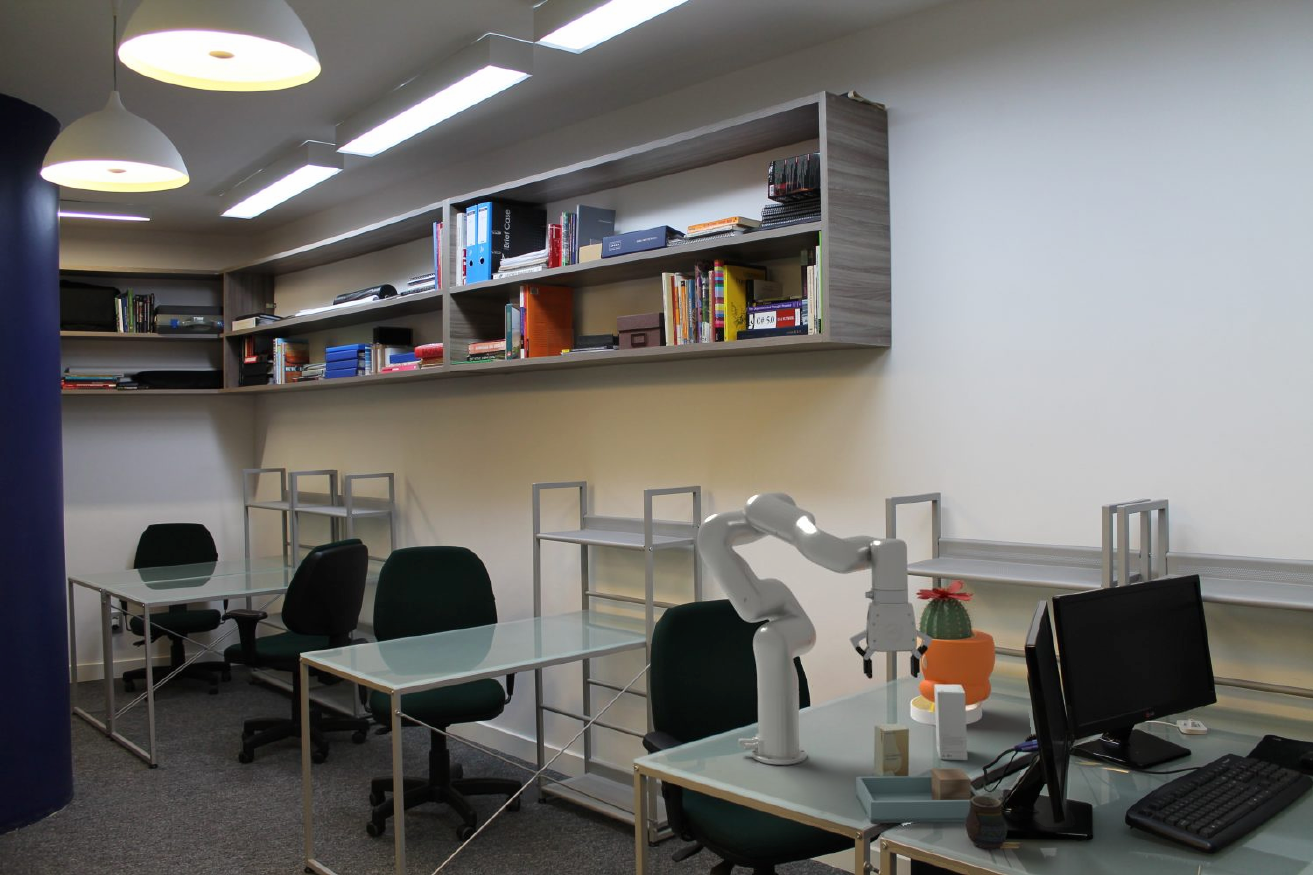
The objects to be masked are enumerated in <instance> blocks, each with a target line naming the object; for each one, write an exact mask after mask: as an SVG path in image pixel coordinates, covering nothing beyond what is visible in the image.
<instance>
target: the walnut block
mask: <svg viewBox="0 0 1313 875" xmlns="http://www.w3.org/2000/svg"><path fill="white" fill-rule="evenodd" d="M931 776H932V800H970V799H971V786H972V785H971V782H972V781H971V778H970V777H969V776H968V775H967V774H966V773H965V771H964V770H963V769H962V768H931Z"/></svg>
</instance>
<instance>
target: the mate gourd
mask: <svg viewBox="0 0 1313 875" xmlns="http://www.w3.org/2000/svg"><path fill="white" fill-rule="evenodd" d="M965 830H966V833H967V837H968V839H969V840H970V842H972V843H973V844H974V845H976V846H977V847H979V848H982V849H997V848H999V847H1001V846H1002V845H1003V844H1004V843H1005V842H1006V838H1007V834H1008V824H1007V821H1006V817H1005V814H1004V812H1003V802H1002V800H1000V799H998V798H997V797H993V796H990V795H983V794H982V795H981V794H980V796H974V797H972V798H971V799H970V810H969V814H968V816H967V819H966V822H965Z"/></svg>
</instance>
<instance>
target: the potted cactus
mask: <svg viewBox="0 0 1313 875" xmlns="http://www.w3.org/2000/svg"><path fill="white" fill-rule="evenodd" d="M963 585H964V582H962V581H961V580H954V581H953V583H951V584H950V585H949V586H946V587H945V588H944V587H943V586H941V588H940V586H938V587H937V588H935V587H934V588H931V589H918V591H919V592H916V593H915V595H916V596H918V597H917V599H919V600H922V601H923V600H927V601H928V602H927V604H926V605H925V607H921V609H922V612H919V614H920V615H921V617H919V616H918V622H917V625H919V627H918V629H917V630H918V631H920V632H922V633H924V634H926V635H928V636H930V637H931V638H932V641H931V643H930V645H929V646H928V650H927V651H926V652H925V653H924V654H923V655H922V657H921V658H920V674H922V676H923V678H924V679H923V680H922V681H921V682H920V683H919V686H918V690H919V692H920V694H921V695H919V696H918V695H917V696H916V697H914V698H912V699H911V700H910V704H909V705H910V718H911V719H912V720H914V721H915V722H918V723H922V724H925V725H931V726H936V718H935V691H934V685H961V686H962V687H963V690H964V692H965V705H966V725H969V724H972V723H973V724H974V723H976V722H977V721H979V720H981V719H982V717H983V701H986V700H988V698H989V697H990V696H991V693H992V685H991V682H990V677H991V675H992V673H993V671H994V667H995V663H996V648H995V641H994V637H993V635H990V634H989V633H986V632H983V631H981V630H980V631H979V630H975V629H973V622H972V621H974V619H972V618H971V617H972V616H971V614H970V612H969V609H968V608H966V603H965V602H967V601H970V600H972V596H973V595H974V594H973V592H972V593H968V594H967V592H959V591H960V590H961V589H962V588H963ZM959 600H960V601H959ZM922 642H923V639H921V638H919V637H917V647H916V649H917V648H918V647H919V646H920V645H921V644H922Z"/></svg>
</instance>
